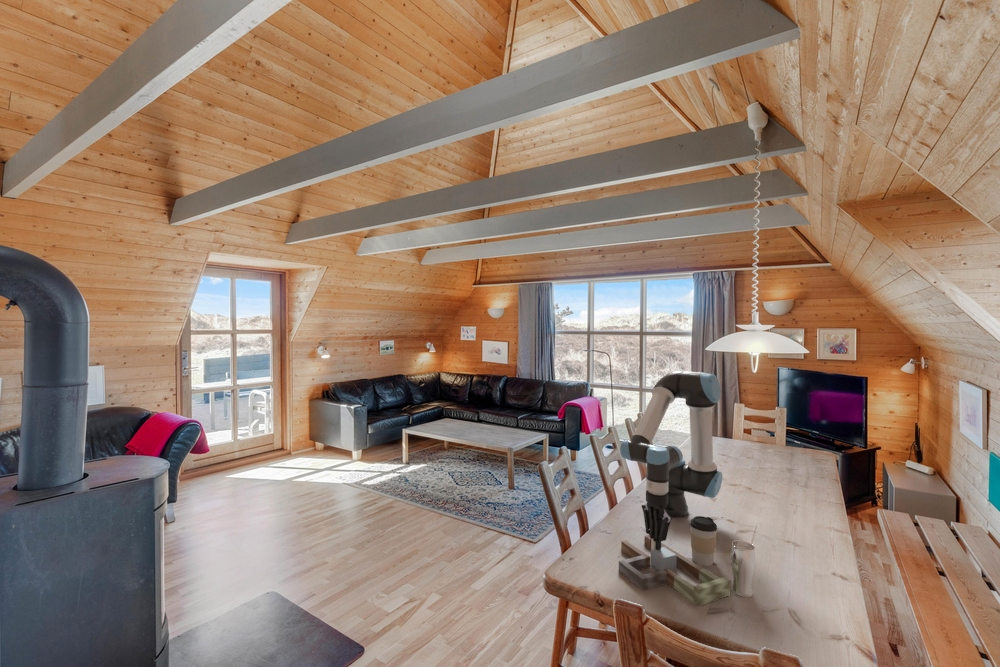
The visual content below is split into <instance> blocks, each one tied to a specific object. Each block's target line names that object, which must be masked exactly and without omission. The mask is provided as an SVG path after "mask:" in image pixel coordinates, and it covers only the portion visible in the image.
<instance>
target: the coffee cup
mask: <svg viewBox="0 0 1000 667" xmlns="http://www.w3.org/2000/svg"><path fill="white" fill-rule="evenodd" d="M689 525H690V531H689V532H690V545H691V546H690V547H691V558H692V562H693V563H695V564H697V565H700V566H701V565H702V566H705V567H706V566H712V565H713V564H714V556H715V551H716V544H717V532H718V525H717V524H716V523H715V521H714V519H713V518H711V517H709V516H700V515H699V516H698V515H697V516H694V517H693V518H692V519H690V522H689Z"/></svg>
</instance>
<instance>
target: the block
mask: <svg viewBox="0 0 1000 667" xmlns="http://www.w3.org/2000/svg"><path fill="white" fill-rule="evenodd" d="M676 559H677V555H676V554H675V553H673V552H671V551H670V550H668V549H667V548H665V547H661V549H660V550H656V549H653V550H651V549H650V566H653V567H654V568H655V569H657V571H659V570H663V569H667V568H668V569H669V570H671V571H674V570H677V566H676Z"/></svg>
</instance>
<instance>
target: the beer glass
mask: <svg viewBox="0 0 1000 667" xmlns="http://www.w3.org/2000/svg"><path fill="white" fill-rule="evenodd" d="M730 566H731V572H732V584H731V586H730V589H731V590H730V591H731V592H732V591H733V592H734V593H733V592H732V593H733V594H735V595H736V594H737V595H736V596H738V595H739V596H738V597H741V596H742V598H751V597H753V595H754V592H753V588H752V583H753V578H754V573H755V568H756V547H755V545H754V544H752V543H750V542H748V541H744V540H737V539H736V540H732V542H731V547H730Z"/></svg>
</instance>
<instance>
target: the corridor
mask: <svg viewBox="0 0 1000 667" xmlns="http://www.w3.org/2000/svg"><path fill="white" fill-rule="evenodd" d="M643 541H644V544H643V546H645V547H647V549H650V550H651V545H650V536H649V534H647V535H644V540H643ZM620 542H621V543H620V544H621V546H620V550H621V552H623V553H624V554H626V556H628V557H630V558H625V559H622V560H619V561H618V572H619V573H620V574H621V575H623V576H624V577H625V578H627V580H629V581H630V582H632V583H633V584H634V585H636V586H637V587H638V588H640V589H641V590H642V591H646V590H649V589H653V588H655V587H659V586H663V585H666V584H667V585H669V586H670V587H671V588H673V589H675V590H676V591H677V592H679V594H681V595H683V596H684V597H686V598H687V599H688V600H690V601H691V602H692V603H694V604H695V603H696V605H697V606H698V605H699V606H698V607H701V606H703V604H704V605H706V603H707V604H709V603H708V602H710V603H712V602H711V601H713V602H715V601H714V600H716V601H718V600H717V599H719V600H721V599H720V598H722V599H724V598H723V597H725V598H727V597H726V596H728V597H730V596H729V595H731V594H730V591H731V590H730V589H731V580H730V579H729V578H727V577H726V576H723V577H718V576H717V575H715V574H713V573H712V572H710V571H709V570H707V569H705V568H703V567H702V566H701V565H699V564H698V563H696V562H694V561H693V560H690V559H688V558H687V557H685V556H683V555H682V554H680V553H679V552H677V551H676V550H674V549H672V548H670V547H669V546H667V545H665V544H664V543H663V542H661V547H665V548H667V549H668V550H670V551H671V552H673V553H675V554H676V555H677V559H676V568H677V567H678V569H680V570H682V571H684V572H685V573H687V574H688V575H689V576H692V577H693V578H695V579H696V580H698V582H701V583H700V584H697V585H694V584H692V583H690V582H689V581H687V580H686V579H685V578H683V577H682V576H680V575H678V574H676V573H675V572H673V570H669V569H668V568H667V569H663V570H657V571H652V572H649V573H646V574H643V573H642V572H641V570H643V569H647V568H650V567H651V564H650V563H651V555H648V554H647V553H645V552H644V551H642V550H641V549H639V548H638V547H636V546H635V545H633V544H632V543H630V542H629V541H628V540H621V541H620ZM700 605H701V606H700Z"/></svg>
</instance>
